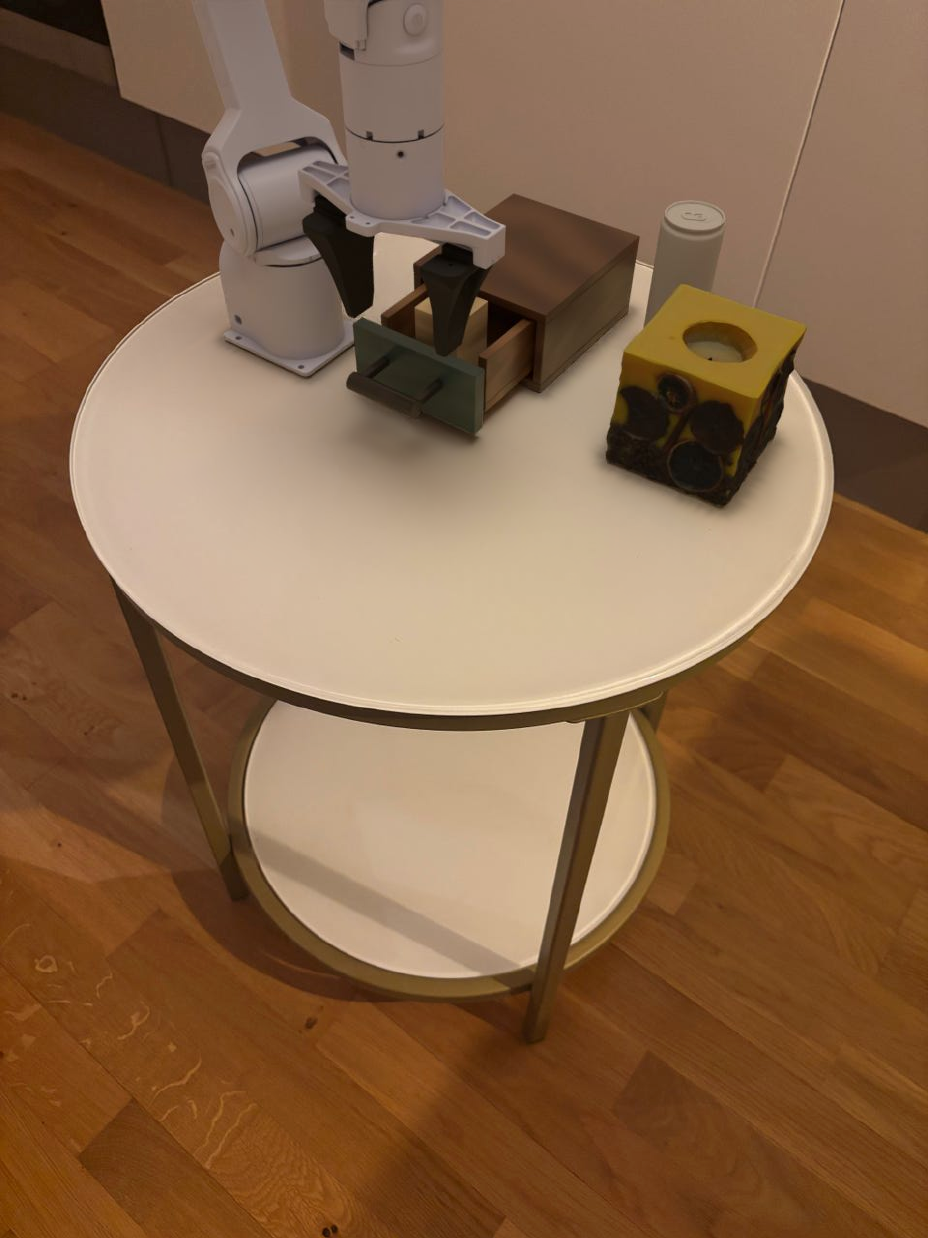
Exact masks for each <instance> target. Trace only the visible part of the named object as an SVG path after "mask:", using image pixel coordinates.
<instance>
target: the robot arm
mask: <svg viewBox="0 0 928 1238" xmlns="http://www.w3.org/2000/svg"><path fill="white" fill-rule="evenodd" d="M190 3H191V6H192V10H193V13H194V15H195V19H196V23H197V25H198V28H199V31H200V35H201V38H202V42H203V44H204V47H205V52H206V53H207V57H208V61H209V63H210V67H211V70H212V73H213V76H214V79H215V83H216V86H217V89H218V92H219V95H220V98H221V101H222V104H223V107H224V113H223V115H222V117H221V119H220V121H219V122H218V124H216V125H217V126H216V127H215V129H214V130H213V132H212V133H211V134H210V137H209V138H208V139H207V141H206V143H205V145H204V147H203V150H202V153H201V159H202V160H201V164H202V167H203V171H204V175H205V179H206V183H207V188H208V199H209V203H210V208H211V212H212V215H213V218H214V221H215V223H216V226H217V228H218V230H219V232H220V234H221V236H222V238H223V239H224V240H223V242H222V245H221V248H220V252H219V258H218V259H219V260H218V270H219V276H220V280H221V281H220V282H221V287H222V291H223V296H224V301H225V306H226V311H227V312H226V313H227V317H228V321H229V326H230V329H229V330H228V331H225V333H224V334H223V336H224V340H226V342H229V343H232V344H234V345H236V346H238V347H240V348H242V349H244V350H246V351H248V352H251V353H253V354H255V355H257V356H259V357H261V358H264V359H265V360H268V361H270V362H272V363H274V364H276V365H278V366H280V367H283V368H284V369H286V370H289V371H290V372H293V373H294V374H297V375H300V376H302V377H310V376H312V375H313V374H314V373H316V372H317V371H318V370H320V369H321V368H323V367H324V366H325V365H326V364H328V363H329V362H331V361H332V360H333V359H335V358H336V357H338V356H339V355H340V354H342V353H343V352H344V351H345V350H347V349H348V348H351V346H352V345H354V336H353V323H354V322H353V321H350V320H348V319H347V318H344V312H343V308H344V311H345V313H346V315H347V317H349V318H352V319H354V320H355V319H356V318H358V317H359V316H360V315H362V314H363V313H365V312H366V311H368V310H369V309H370V308H372V307H373V306H374V298H375V272H374V271H375V269H374V250H375V249H374V248H375V237H376V236H377V235H378V234H380V233H384V234H390V235H397V236H403V237H409V238H417V239H423V240H426V241H428V242H431V243H433V244H437V245H438V246H439V245H441V246H442V253H441V254H437V255H436V256H434V257H433V258H432V259H430V260H429V261H427V262H426V263H425V264H423V265H422V266H420V275H421V277H422V279H423V281H424V283H425V286H426V289H427V292H428V295H429V299H430V304H431V309H432V316H433V337H434V346H435V350H436V354H438V355H440V356H442V357H447V356H448V355H449V354H450V353H452V352H453V351H454V350H455V349H456V348H458V347H459V346H460V345H461V344H462V341H463V337H464V333H465V329H466V325H467V321H468V318H469V315H470V312H471V309H472V306H473V304H474V301H475V299H476V296H477V294H478V292H479V290H480V288H481V286H482V284H483V282H484V280H485V278H486V276H487V275H488V273H489V271H490V269H491V268H492V266H493V265H494V263H496V262H497V261H498V260H499V259H500V258H502V257H503V256H504V255H505V233H506V226H505V225H503V224H500V223H498V222H495V221H493V220H491V219H489V218H487V217H486V216H484V215H483V214H484V213H481V212H480V211H478V209H476V208H474V207H472V205H470V204H469V203H467V202H466V201H464V200H463V199H462V198H460V197H459V196H457V195H456V194H454V193H453V192H452V191H450V190H449V189H447V188H446V179H445V176H446V175H445V174H446V169H445V166H446V165H445V161H446V160H445V157H446V156H445V154H446V153H445V32H444V31H445V26H444V25H445V24H444V23H445V22H444V21H445V19H444V17H445V15H444V13H445V11H444V0H323V8H324V19H325V21H326V22H327V26H328V32H329V33H330V35H332V36H333V37H335V38H336V39H337V47H338V48H337V49H338V50H337V51H338V62H339V63H338V64H339V74H340V86H341V99H342V109H343V110H342V111H343V123H344V137H345V147H346V157H345V155H344V154H343V153H342V150H341V147H340V145H339V143H338V140H337V137H336V134H335V132H334V128H333V126H332V123H331V121H330V120H329V118H327V117H325V115H323V114H321V113H319V112H318V111H316V110H314V109H313V108H310V107H309V106H307V105H306V104H303V103H302V102H300V101H299V100H297V99H295V98H294V97H293V96H292V92H291V89H290V85H289V82H288V79H287V75H286V71H285V67H284V64H283V62H282V61H283V60H282V57H281V54H280V51H279V47H278V44H277V40H276V35H275V33H274V30H273V26H272V23H271V19H270V15H269V12H268V9H267V5H266V1H265V0H190ZM285 143H286V144H287V143H293V144H295V145H297V146H298V147H294V148H290V149H287V150H284V151H279V152H276V153H273V154H269V155H265V156H261V157H257V158H255V159H251V160H247V161H243V162H241V160H242V159H243V157H244V156H246V155H248V154H250V153H251V152H256V151H258V150H263V149H266V148H269V147H273V146H277V145H280V144H285ZM346 158H347V159H346Z"/></svg>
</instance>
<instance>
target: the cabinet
mask: <svg viewBox="0 0 928 1238" xmlns="http://www.w3.org/2000/svg"><path fill="white" fill-rule="evenodd" d="M482 214H483V215H484V216H486V217H487V218H489V219H491V220H493V221H495V222H498V223H500V224H503V225H505V226H506V233H505V255H504V256H503V257H502V258H500V259H499V260H498V261H497V262H496V263H494V265H493V266H492V268H491V269H490V271H489V273H488V275H487V276H486V278H485V280H484V282H483V284H482V286H481V288H480V290H479V292H478V294H477V296H476V297H479V298H481V299H484V300H486V301H488V302H490V303H492V304H495V305H497V306H500V307H502V308H505V309H508V310H510V311H513V312H515V313H518V314H520V315H523V316H525V317H528V318H530V319H533V320H536V321H537V328H536V342H535V355H534V369H533V370H532V371H531V372H530V373H529V374H528V375H527V376H525V377H524V378H523V379H522V380H521V381H520V382H519V383H518V384H517V385H520V386H523V387H525V388H526V389H529V390H532V391H534V392H537V393H541V392H543V391H544V390H545V389H546V388H547V387H548V386H549V385H550V384H551V383H552V382H554V381H555V380H556V378H558V377H559V376H560V375H561V374H562V373H563V372H564V371H565V370H566V369H568V368H569V367H570V366H571V365H572V364H573V363H574V362H575V361H577V360H578V358H580V357H581V356H582V355H583V354H584V353H586V351H587V350H589V349H590V348H591V347H592V346H593V345H594V344H595V343H596V342H597V341H599V339H600V338H602V336H603V335H605V334H606V333H607V332H608V331H609V330H610V329H611V328H612V327H614V326H615V324H617V323H618V322H619V321H620V320H621V319H622V318H623V317H624V316H625V315H626V314H627V313H628V312H629V309H630V302H631V295H632V289H633V283H634V276H635V270H636V262H637V256H638V250H639V243H640V239H641V236H640V235H637V234H635V233H632V232H629V231H626V230H623V229H620V228H617V227H615V226H611V225H608V224H605V223H603V222H600V221H597V220H593V219H591V218H587V217H585V216H582V215H579V214H576V213H573V212H570V211H567V210H565V209H562V208H558V207H555V206H553V205H549V204H547V203H543V202H540V201H538V200H535V199H532V198H529V197H525V196H523V195H520V194H517V193H511V194H510V195H509V196H508V197H506V198H505V199H503V200H502V201H501V202H499V203H498V204H496V205H495V206H493V207H492V208H491V209H489V210H488V211H486V212H485V213H482ZM441 253H442V246H441V245H439V244H438V245H437V246H436V247H434V248H433V249H432V250H430V251H429V252H427V253H426V254H425V255H423V256H422V257H421V258H419V259H418V260H416V261H415V262H413V263H412V273H413V291H414V290H415V289H417V288H418V287H419V286H421V285H422V284H423V283H424V281H423V279H422V277H421V275H420V266H422V265H423V264H425V263H426V262H427V261H429V260H430V259H432V258H433V257H434V256H436V255H437V254H441Z"/></svg>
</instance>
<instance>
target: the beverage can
mask: <svg viewBox="0 0 928 1238" xmlns="http://www.w3.org/2000/svg"><path fill="white" fill-rule="evenodd" d="M663 214H664V215H663V216H662V219H661V221H660V227H659V232H658V233H659V234H658V237H657V244H656V250H655V257H654V262H653V268H652V273H651V281H650V286H649V292H648V297H647V303H646V304H647V306H646V309H645V315H644V322H643V328H644V327H645V326H646V325H647V324H648V323H649V322H650V320H651V319H652V318H653V317H654V316H655V315H656V313H657V312H658V311H659V310H660V309H661V307H662V306H663V305H664V303H665V302H666V301H667V300H668V298H669V297H670V296H671V295H672V294H673V292H674V291H675V290H676V288H677V287H678V286H679V285H680V284H686V285H689V286H692V287H695V288H697V289H700V290H703V291H706V292H710V293H712V291H713V286H714V281H715V277H716V274H717V267H718V263H719V259H720V254H721V250H722V245H723V241H724V236H725V232H726V223H725V222H726V213H724V211H723V210H722V208H720V207H718V206H716V205H714V204H712V203H710V202H706V201H700V200H688V199H687V200H680V201H675V202H673V203H671V204H669V205H668V206H667V207H666V208H665V210H664V213H663ZM643 328H642V329H643Z"/></svg>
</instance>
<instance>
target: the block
mask: <svg viewBox="0 0 928 1238" xmlns="http://www.w3.org/2000/svg"><path fill="white" fill-rule="evenodd" d="M487 318H488V301H486V300H484V299H481V298H479V297H476V299H475V301H474V304H473V306H472V309H471V312H470V315H469V318H468V321H467V325H466V329H465V333H464V337H463V341H462V344H461V345H460V346H459V347H458V348H456V349H455V350H454V351H453V352H452V353H450V355H452V356H455V357H457V358H459V359H462V360H464V361H466V362H469V363H471V364H473V365H476V366H478V356H479V355H480V354H481V353H482V352H484V351H485V350H486V349H487ZM415 335H416V340H417V341H419V342H422V343H424V344H426V345H429V346H431V347H434V348H435V346H434V337H433V316H432V309H431V304H430V299H429V297H428V298H427V299H425V300H424V301H423V302H421V303H420V304H419V305H417V306H416V307H415Z"/></svg>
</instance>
